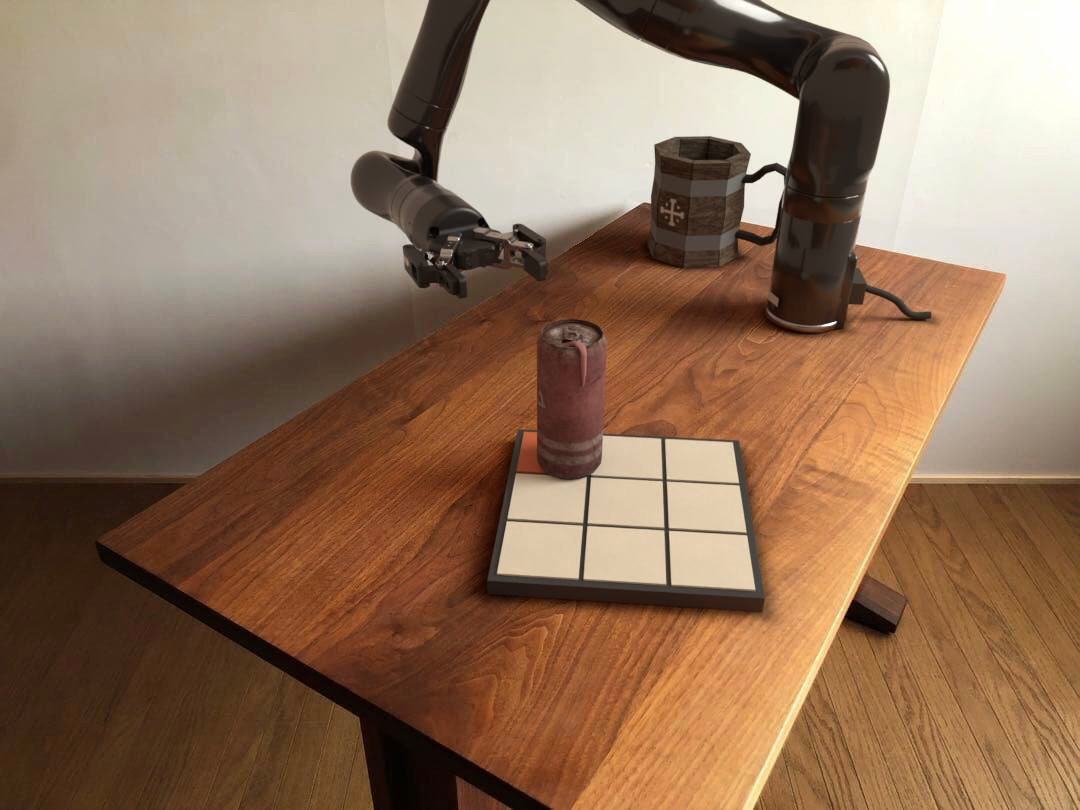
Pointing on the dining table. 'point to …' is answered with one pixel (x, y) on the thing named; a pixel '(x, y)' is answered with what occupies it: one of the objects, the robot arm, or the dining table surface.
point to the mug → (702, 201)
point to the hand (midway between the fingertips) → (504, 280)
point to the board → (631, 527)
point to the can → (570, 397)
